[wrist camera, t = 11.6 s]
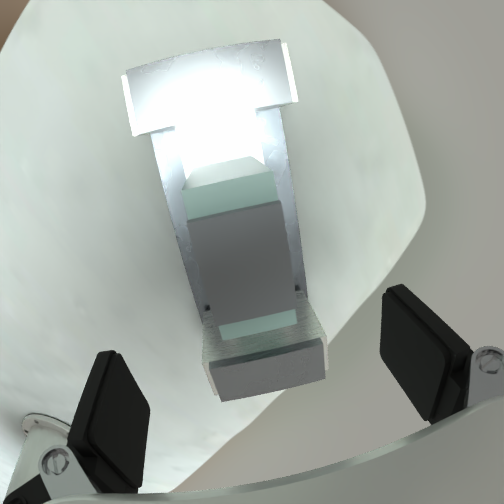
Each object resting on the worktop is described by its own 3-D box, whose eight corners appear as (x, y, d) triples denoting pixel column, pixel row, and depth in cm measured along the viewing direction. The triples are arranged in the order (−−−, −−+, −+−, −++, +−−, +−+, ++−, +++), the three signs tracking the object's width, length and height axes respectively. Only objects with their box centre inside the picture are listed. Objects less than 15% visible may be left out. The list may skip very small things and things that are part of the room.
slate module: (252, 155, 23) (276, 172, 14) (272, 262, 27) (300, 329, 18) (192, 168, 23) (178, 193, 14) (218, 274, 27) (222, 347, 18)
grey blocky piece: (307, 316, 31) (337, 380, 23) (209, 337, 31) (211, 409, 22) (266, 60, 22) (296, 26, 13) (143, 86, 22) (106, 64, 13)
